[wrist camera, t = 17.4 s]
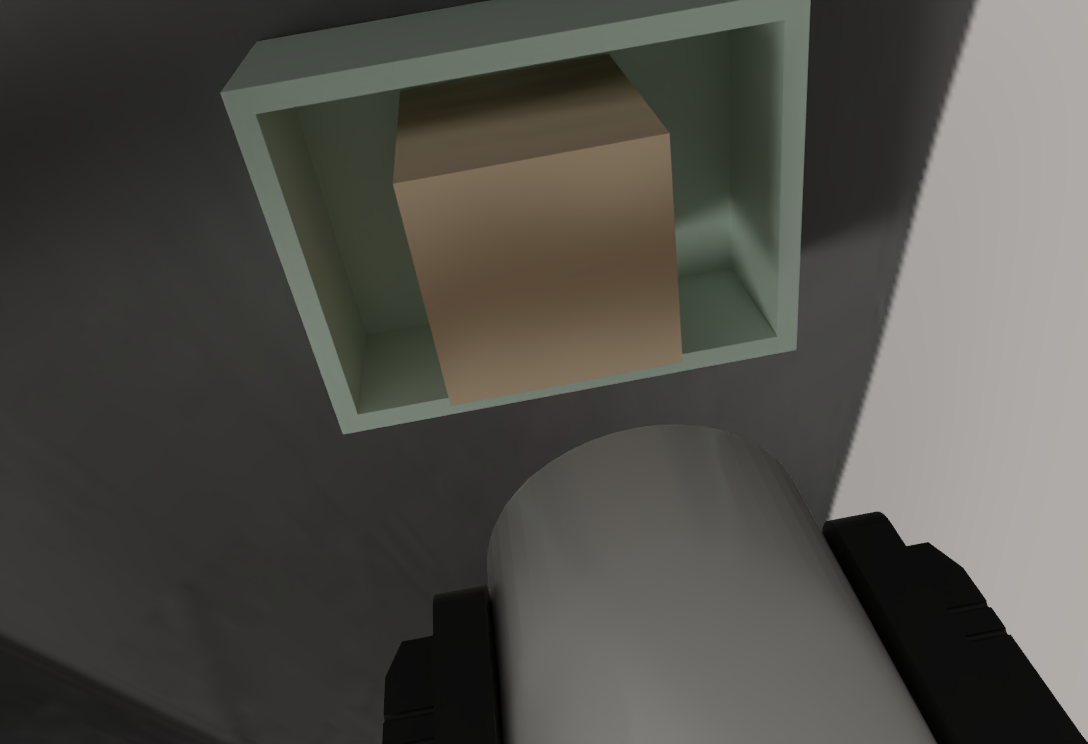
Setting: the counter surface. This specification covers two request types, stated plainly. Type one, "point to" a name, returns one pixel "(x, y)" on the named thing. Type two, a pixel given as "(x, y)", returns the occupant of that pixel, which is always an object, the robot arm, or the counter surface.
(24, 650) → the counter surface
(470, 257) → the oak block
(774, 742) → the ceramic jar
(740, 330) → the tote
